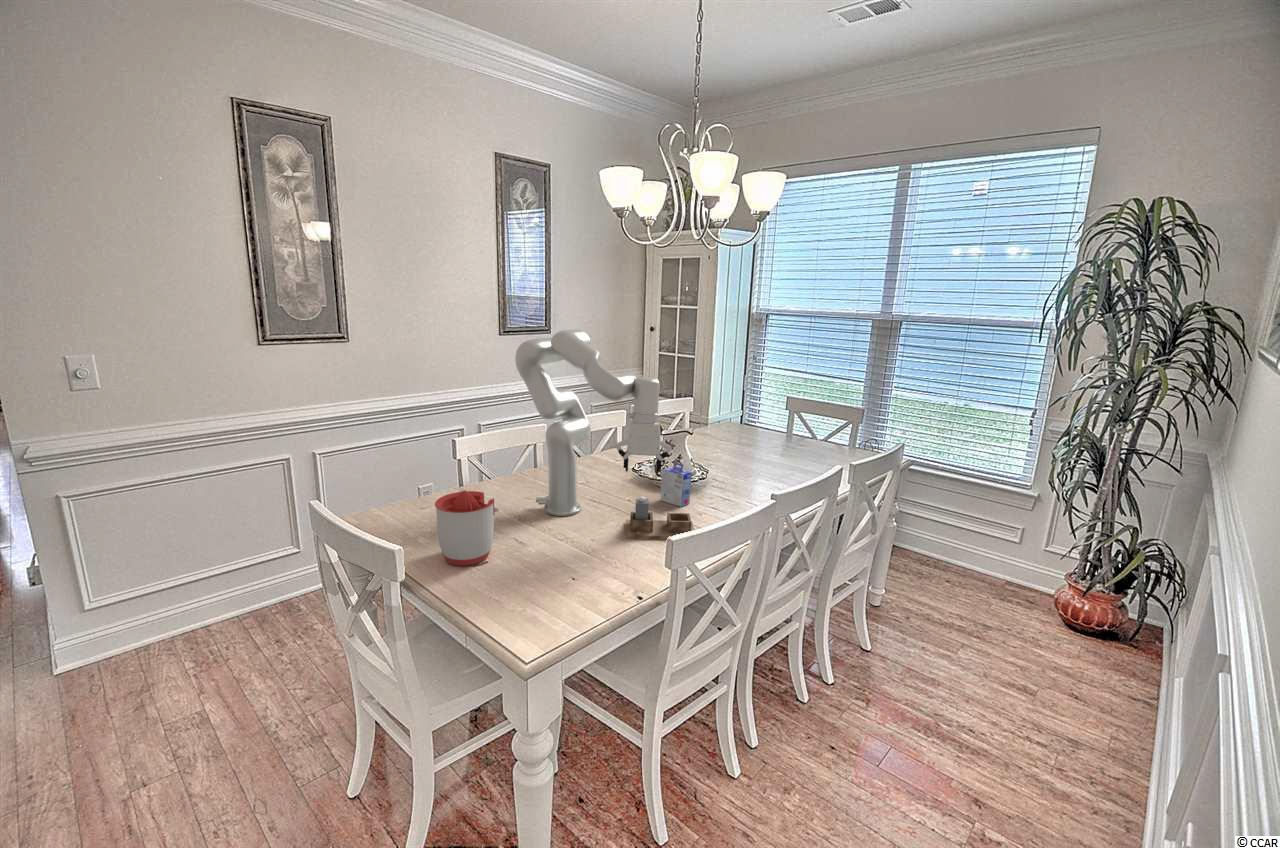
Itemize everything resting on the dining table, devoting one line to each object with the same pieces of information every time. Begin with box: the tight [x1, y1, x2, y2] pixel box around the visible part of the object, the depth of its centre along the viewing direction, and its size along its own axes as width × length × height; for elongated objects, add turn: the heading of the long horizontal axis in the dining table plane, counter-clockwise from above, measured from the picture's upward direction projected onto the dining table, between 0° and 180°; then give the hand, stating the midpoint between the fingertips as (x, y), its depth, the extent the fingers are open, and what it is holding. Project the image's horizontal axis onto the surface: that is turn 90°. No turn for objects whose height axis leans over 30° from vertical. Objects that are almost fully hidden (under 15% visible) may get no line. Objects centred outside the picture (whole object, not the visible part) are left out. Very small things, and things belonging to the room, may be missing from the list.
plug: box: [634, 496, 650, 520], centre depth 178 cm, size 4×4×10 cm
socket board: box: [625, 511, 695, 541], centre depth 179 cm, size 22×12×5 cm, turn 91°
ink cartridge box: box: [660, 462, 692, 507], centre depth 204 cm, size 10×6×14 cm, turn 51°
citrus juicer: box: [434, 490, 500, 567], centre depth 157 cm, size 16×17×20 cm
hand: (642, 470), depth 175 cm, fingers open, 9 cm apart
